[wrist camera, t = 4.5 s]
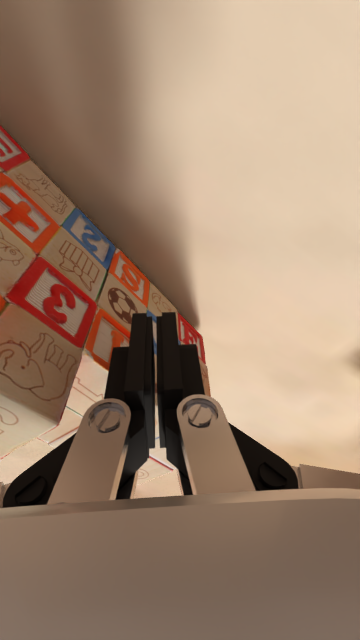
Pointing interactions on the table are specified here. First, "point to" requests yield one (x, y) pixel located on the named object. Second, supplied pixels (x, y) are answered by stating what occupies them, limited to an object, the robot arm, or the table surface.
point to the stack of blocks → (64, 311)
